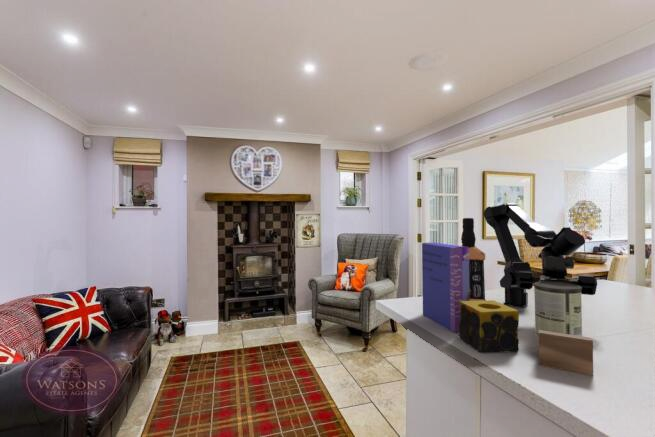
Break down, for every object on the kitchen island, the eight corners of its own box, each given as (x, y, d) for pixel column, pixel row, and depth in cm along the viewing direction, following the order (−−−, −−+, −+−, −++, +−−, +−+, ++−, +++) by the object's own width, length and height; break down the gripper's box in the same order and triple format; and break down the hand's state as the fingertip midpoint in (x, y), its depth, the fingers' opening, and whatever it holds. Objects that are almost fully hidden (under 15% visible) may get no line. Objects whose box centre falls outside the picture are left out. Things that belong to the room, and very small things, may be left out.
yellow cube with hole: (458, 338, 85) (457, 300, 85) (494, 336, 86) (493, 299, 86) (479, 354, 75) (479, 311, 75) (520, 352, 75) (519, 310, 76)
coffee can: (538, 328, 91) (537, 279, 91) (584, 337, 84) (583, 284, 84) (530, 338, 84) (530, 285, 84) (580, 349, 77) (579, 290, 77)
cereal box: (469, 331, 89) (468, 246, 89) (454, 333, 88) (453, 246, 88) (435, 314, 106) (435, 242, 106) (422, 315, 105) (422, 242, 105)
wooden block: (538, 351, 75) (538, 322, 75) (587, 360, 70) (586, 329, 71) (539, 365, 69) (538, 332, 69) (593, 375, 64) (592, 340, 64)
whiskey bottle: (487, 312, 107) (486, 217, 107) (456, 310, 110) (455, 218, 110) (481, 304, 117) (480, 217, 117) (452, 303, 120) (451, 218, 120)
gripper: (517, 245, 98) (516, 287, 88) (595, 247, 88) (604, 295, 79) (518, 267, 105) (517, 309, 95) (591, 271, 95) (598, 318, 85)
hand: (556, 307), depth 88 cm, fingers closed
